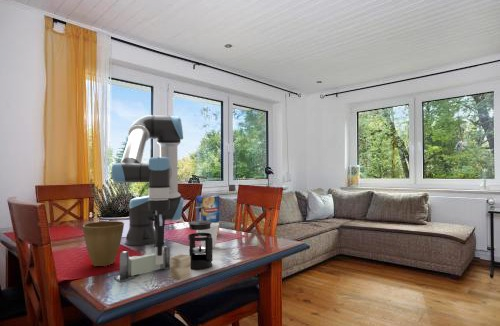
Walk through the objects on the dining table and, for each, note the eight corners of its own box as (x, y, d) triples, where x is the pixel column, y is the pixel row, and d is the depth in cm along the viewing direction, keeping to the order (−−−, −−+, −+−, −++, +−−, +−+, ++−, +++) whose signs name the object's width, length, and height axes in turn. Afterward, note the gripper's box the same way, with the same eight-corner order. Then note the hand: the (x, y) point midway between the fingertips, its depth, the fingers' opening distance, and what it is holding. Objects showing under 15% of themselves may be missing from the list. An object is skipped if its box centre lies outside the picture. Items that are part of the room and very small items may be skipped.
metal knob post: (120, 282, 104) (120, 255, 104) (112, 278, 108) (112, 252, 108) (144, 276, 110) (144, 250, 110) (136, 272, 114) (136, 247, 114)
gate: (131, 276, 108) (131, 259, 108) (128, 274, 110) (128, 258, 110) (165, 267, 117) (165, 252, 117) (161, 266, 119) (161, 251, 119)
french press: (181, 265, 121) (181, 206, 122) (200, 260, 128) (200, 204, 129) (200, 272, 113) (200, 209, 114) (220, 266, 120) (220, 207, 121)
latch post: (164, 269, 117) (164, 248, 117) (159, 267, 119) (159, 246, 119) (174, 267, 119) (174, 246, 120) (168, 265, 122) (168, 244, 122)
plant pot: (121, 268, 119) (122, 226, 119) (78, 271, 114) (78, 228, 115) (125, 257, 133) (125, 219, 133) (87, 260, 129) (87, 221, 129)
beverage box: (219, 234, 177) (219, 195, 178) (203, 237, 170) (203, 197, 170) (212, 232, 182) (212, 195, 183) (196, 235, 175) (196, 196, 175)
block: (169, 277, 109) (170, 257, 109) (179, 273, 113) (179, 253, 113) (181, 280, 106) (181, 259, 106) (190, 275, 111) (190, 255, 111)
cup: (215, 250, 143) (215, 226, 144) (195, 249, 145) (195, 225, 146) (221, 245, 153) (221, 222, 153) (202, 244, 155) (202, 222, 155)
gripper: (172, 200, 110) (172, 267, 109) (167, 197, 122) (167, 258, 121) (149, 201, 107) (149, 270, 107) (147, 198, 119) (147, 260, 119)
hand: (159, 263), depth 114 cm, fingers closed
